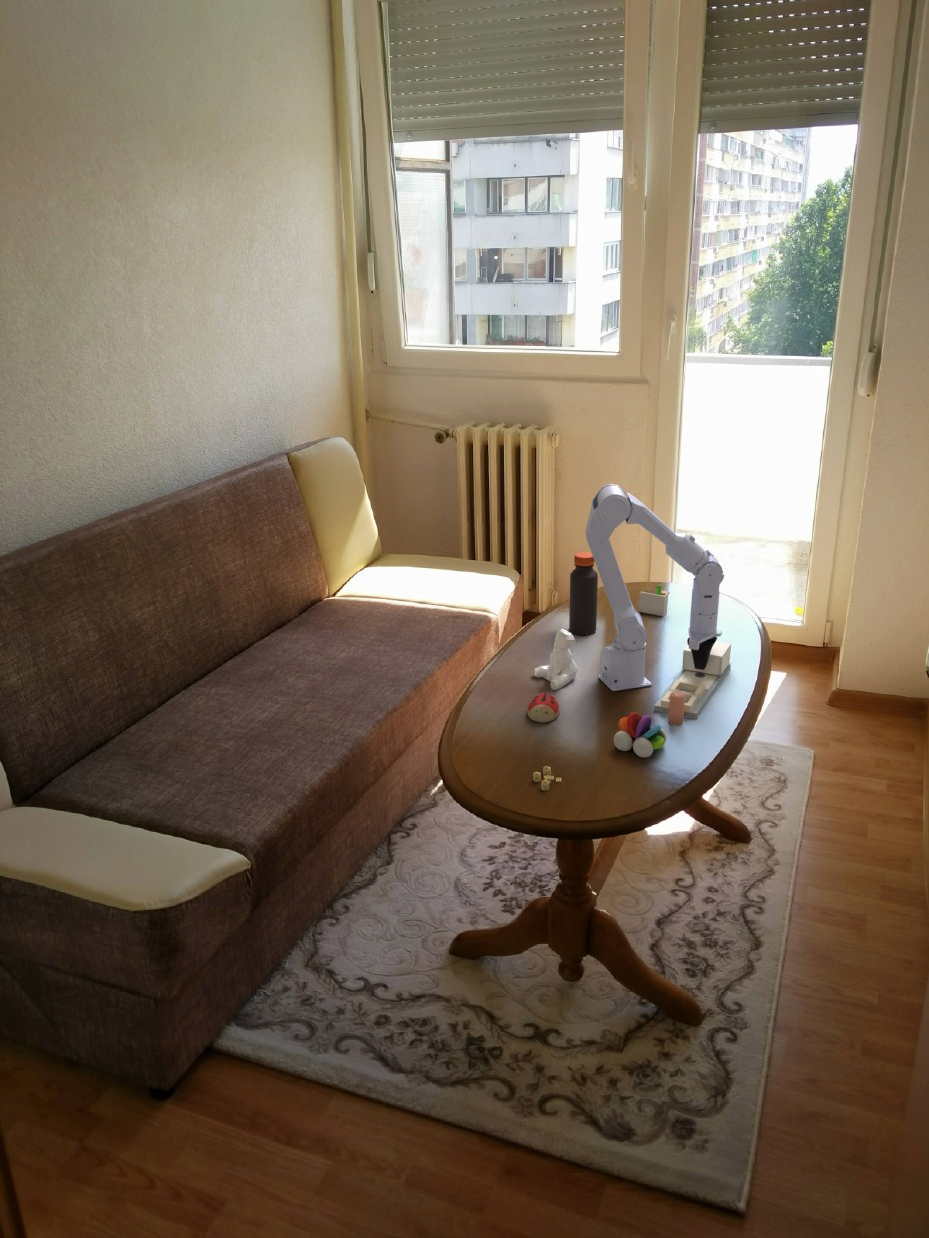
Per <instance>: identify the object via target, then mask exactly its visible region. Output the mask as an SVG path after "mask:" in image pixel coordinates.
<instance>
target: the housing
mask: <svg viewBox="0 0 929 1238" xmlns="http://www.w3.org/2000/svg"><path fill="white" fill-rule="evenodd" d="M731 647H732V643H728V642H723V641H722V642H721V641H717V640H716V642H715V643H714V645H713V647H712V649H711V652H710V655H709V659H708V662H707V665H706V668H705V669H704V670H700V669H695V667H694V661H693V656H692V652H691V649H689V645H688V644H687V645H686V646H685V647H684V648H683V652H682V667H681V668H682V669H686V670H691V671H697V672H702V673H708V674H714V675H719V676H721V674H722V673H723V671H724V670H725V668H726V667H727V665H728V664H729V663H730V659H731ZM682 669H681V670H682Z"/></svg>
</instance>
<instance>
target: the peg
mask: <svg viewBox="0 0 929 1238" xmlns="http://www.w3.org/2000/svg"><path fill="white" fill-rule="evenodd" d="M684 705H685V694H683V693H680V692H673V693H671V694H670V702H669V713H668V717H667V718H668V721H667V722H668V723H669V724H671V725H672V726H681V725H683V724H684V718H685V717H684Z"/></svg>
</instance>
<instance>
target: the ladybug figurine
mask: <svg viewBox="0 0 929 1238" xmlns="http://www.w3.org/2000/svg"><path fill="white" fill-rule="evenodd" d="M560 712H561V708H560V704H559V702H558V701H557V699H556V698H555V697H554V696H553V695H552V694H550V693H548V692H541V693H538V694H537V695H535V696H534V697H533V698H532V699H531V701H530V702H529V704H528V706H527V711H526V714H527V715H528V718H529V719H530V720H532V721H534V722H536V723H541V724H542V723H549V722H551V721H554V720H556V719H557V718H558V716H559V715H560Z"/></svg>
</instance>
